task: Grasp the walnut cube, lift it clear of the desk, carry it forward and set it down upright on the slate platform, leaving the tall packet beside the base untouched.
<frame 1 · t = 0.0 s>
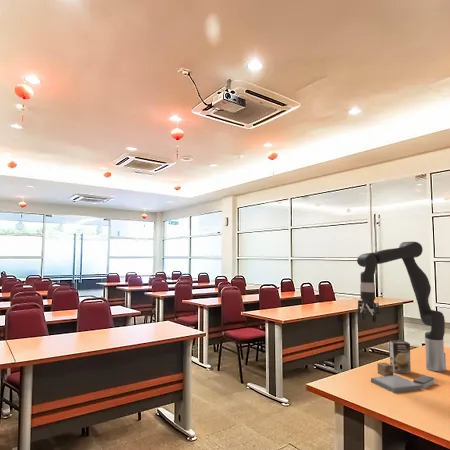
hand: (368, 321, 198), 29 cm above the table, fingers open, 8 cm apart
slate platform: (395, 385, 182), on the table
coffee box: (400, 371, 205), on the table
walnut cube: (385, 374, 200), on the table
felt board eraser: (424, 385, 184), on the table
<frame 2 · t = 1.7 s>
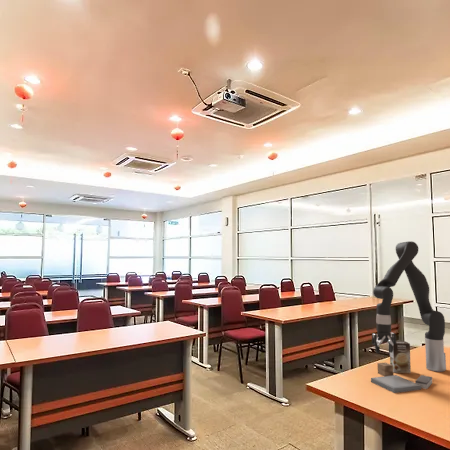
hand: (384, 352, 201), 11 cm above the table, fingers open, 8 cm apart
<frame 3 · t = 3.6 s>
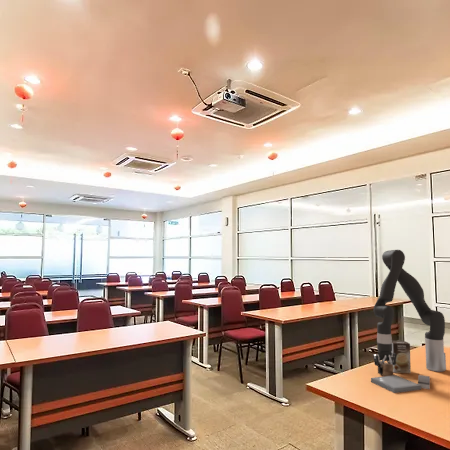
hand: (385, 373, 200), 1 cm above the table, fingers closed on walnut cube, 5 cm apart
walnut cube: (385, 374, 200), on the table, touching gripper
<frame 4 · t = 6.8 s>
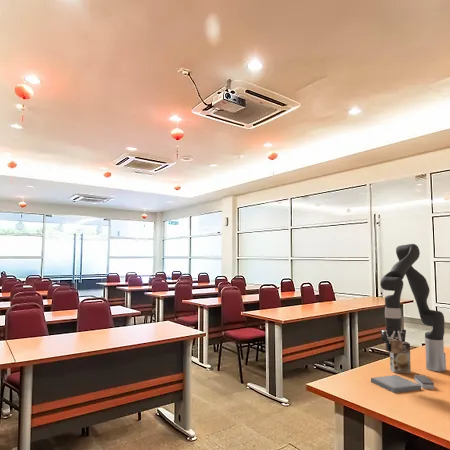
hand: (394, 350, 184), 17 cm above the table, fingers closed on walnut cube, 5 cm apart
walnut cube: (394, 351, 183), point 16 cm above the table, touching gripper
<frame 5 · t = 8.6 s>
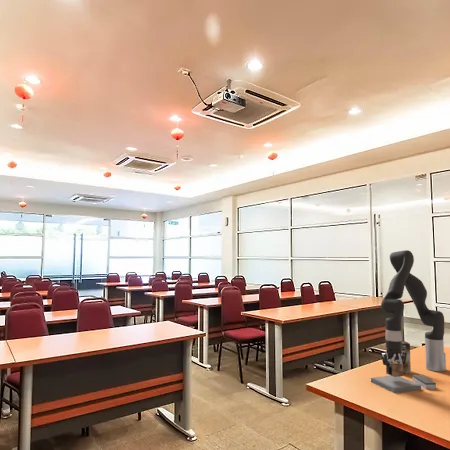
hand: (394, 373, 183), 6 cm above the table, fingers closed on walnut cube, 5 cm apart
walnut cube: (394, 374, 183), point 5 cm above the table, touching gripper
when the fingers open (3 cm above the table, at t = 10.1 s): walnut cube stays where it is, resting on slate platform.
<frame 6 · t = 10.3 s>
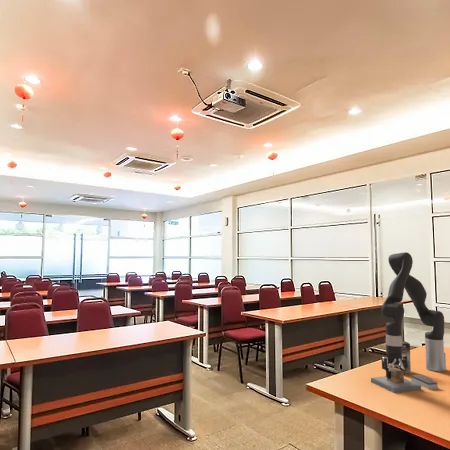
hand: (395, 377, 182), 4 cm above the table, fingers open, 7 cm apart
walnut cube: (395, 381, 182), point 2 cm above the table, touching slate platform
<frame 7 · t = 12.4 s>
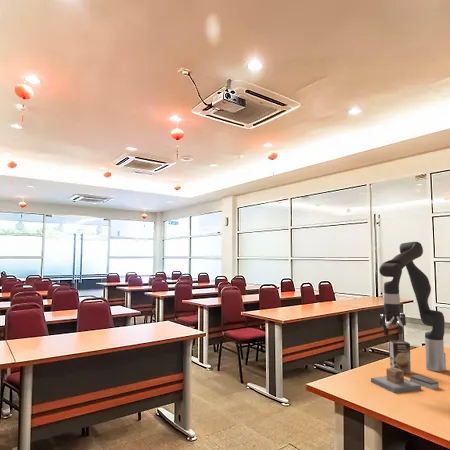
hand: (393, 334, 185), 25 cm above the table, fingers open, 8 cm apart
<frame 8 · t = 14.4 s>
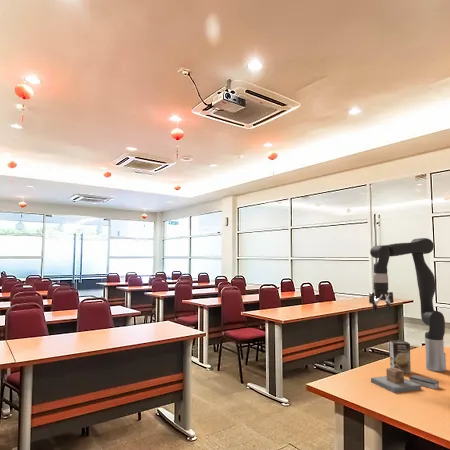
hand: (381, 311, 201), 34 cm above the table, fingers open, 8 cm apart
at the end: walnut cube inside the target area on the slate platform (0.1 cm from its centre), point 2.1 cm above the slate platform's base; walnut cube tilted 0°; the gripper is holding nothing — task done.
